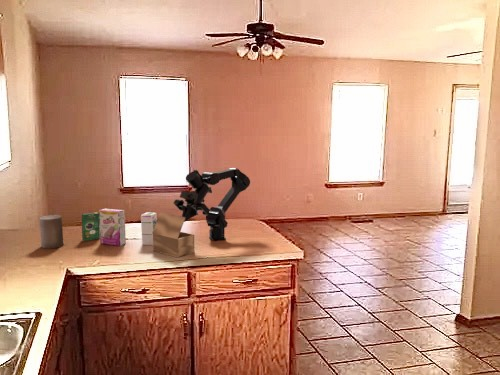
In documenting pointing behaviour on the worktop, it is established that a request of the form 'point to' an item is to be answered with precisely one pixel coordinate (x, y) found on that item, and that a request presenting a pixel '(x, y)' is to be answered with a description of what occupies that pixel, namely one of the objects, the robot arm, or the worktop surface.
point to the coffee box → (90, 226)
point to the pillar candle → (51, 231)
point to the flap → (169, 225)
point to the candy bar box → (112, 227)
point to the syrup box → (148, 227)
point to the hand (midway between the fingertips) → (181, 222)
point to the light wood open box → (174, 244)
